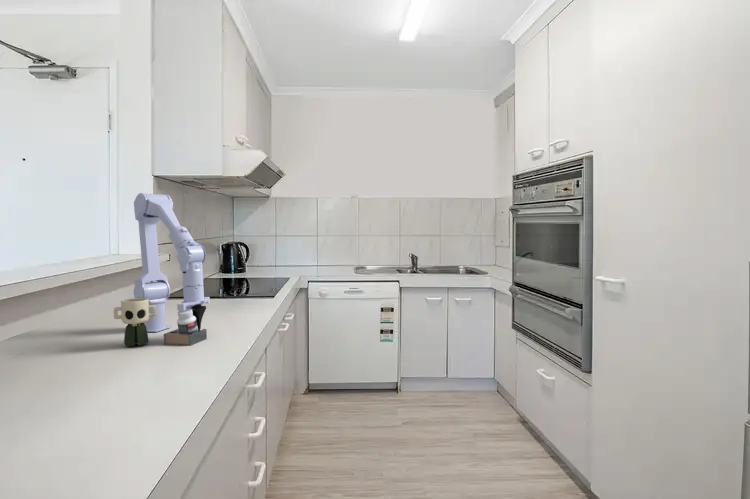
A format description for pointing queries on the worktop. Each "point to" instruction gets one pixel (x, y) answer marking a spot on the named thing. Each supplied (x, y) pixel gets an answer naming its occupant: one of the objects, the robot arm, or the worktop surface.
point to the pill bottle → (187, 322)
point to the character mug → (135, 319)
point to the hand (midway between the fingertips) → (195, 330)
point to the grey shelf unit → (184, 337)
